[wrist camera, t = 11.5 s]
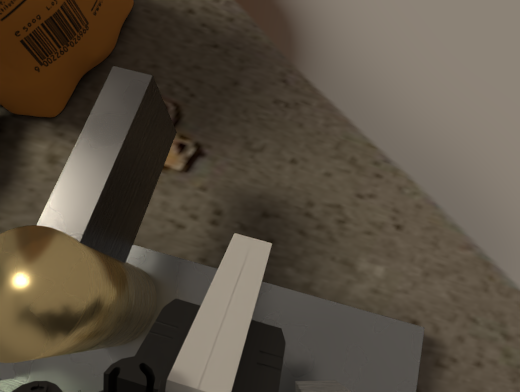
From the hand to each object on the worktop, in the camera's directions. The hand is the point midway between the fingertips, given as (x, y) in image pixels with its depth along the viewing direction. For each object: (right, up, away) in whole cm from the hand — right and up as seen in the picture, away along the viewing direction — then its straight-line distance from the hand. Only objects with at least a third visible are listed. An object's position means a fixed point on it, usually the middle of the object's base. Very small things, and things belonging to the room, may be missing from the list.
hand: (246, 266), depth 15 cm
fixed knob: (-6, 0, +5) cm, 8 cm away
